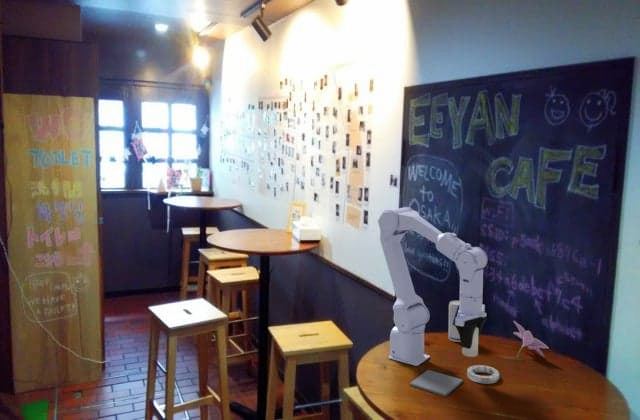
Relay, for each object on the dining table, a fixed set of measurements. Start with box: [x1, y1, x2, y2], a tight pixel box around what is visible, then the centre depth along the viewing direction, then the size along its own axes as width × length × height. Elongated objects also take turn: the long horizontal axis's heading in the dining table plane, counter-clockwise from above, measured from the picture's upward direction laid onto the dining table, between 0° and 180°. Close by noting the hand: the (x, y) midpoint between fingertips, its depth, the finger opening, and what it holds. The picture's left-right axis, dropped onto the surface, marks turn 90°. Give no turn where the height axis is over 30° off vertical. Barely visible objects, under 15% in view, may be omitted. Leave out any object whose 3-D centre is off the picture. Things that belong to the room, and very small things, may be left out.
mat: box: [409, 369, 464, 397], centre depth 136 cm, size 10×10×1 cm
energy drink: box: [447, 299, 461, 343], centre depth 166 cm, size 5×5×12 cm
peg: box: [461, 327, 479, 358], centre depth 137 cm, size 4×4×7 cm
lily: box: [512, 320, 549, 359], centre depth 152 cm, size 12×12×10 cm
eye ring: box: [466, 364, 500, 385], centre depth 139 cm, size 8×8×2 cm
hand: (469, 344), depth 137 cm, fingers closed on peg, 4 cm apart
